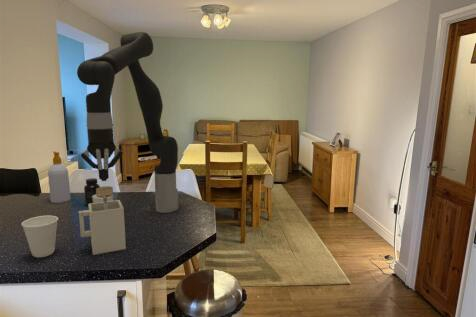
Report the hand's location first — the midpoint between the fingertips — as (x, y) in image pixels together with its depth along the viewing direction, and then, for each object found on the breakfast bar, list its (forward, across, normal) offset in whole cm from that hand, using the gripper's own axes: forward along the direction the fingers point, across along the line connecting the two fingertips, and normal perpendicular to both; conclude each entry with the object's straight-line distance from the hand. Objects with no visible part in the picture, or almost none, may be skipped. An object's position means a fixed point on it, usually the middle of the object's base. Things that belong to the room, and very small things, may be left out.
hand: (103, 180), depth 105 cm
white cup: (+23, -1, -28) cm, 36 cm away
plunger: (+21, 0, 0) cm, 21 cm away
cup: (+23, +19, -3) cm, 30 cm away
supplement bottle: (+23, +2, -51) cm, 56 cm away
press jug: (+23, +2, 0) cm, 23 cm away
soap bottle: (+23, +16, -64) cm, 70 cm away
